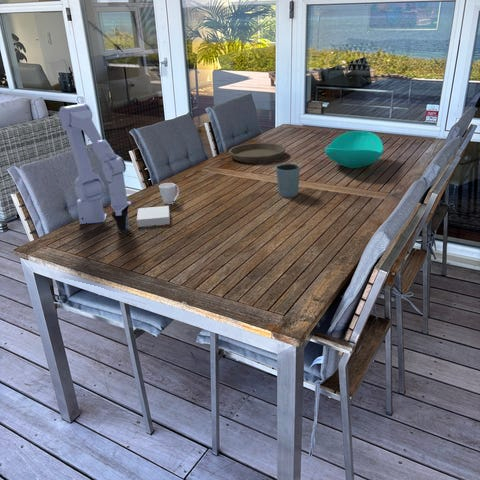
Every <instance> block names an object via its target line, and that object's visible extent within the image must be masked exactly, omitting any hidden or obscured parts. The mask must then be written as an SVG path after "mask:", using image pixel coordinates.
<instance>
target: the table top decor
mask: <svg viewBox="0 0 480 480" xmlns="http://www.w3.org/2000/svg"><path fill="white" fill-rule="evenodd" d="M383 143H384V142H383V141H382V140H381V138H380V137H379V135H377V134H376V133H374V132H370V131H365V130H363V131H362V130H355V131H353V130H352V131H347V132H345V133H342V134H340V135H339V136H337V137H336V138H334V139H333V141H331V142H330V144H329V145H328V146H326V148H325V149H324V152H325V154H326V156H327V157H328V159H330V160H331V161H333V162H334V163H336V164H338V165H341V166H343V167H346V168H349V169H359V168H361V167H362V168H363V167H366V166H369V165H371V164H373V163H374V162H376V161H377V160H379V159H380V157H381V156H382V155H383V153H384V144H383Z"/></svg>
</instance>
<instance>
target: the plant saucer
mask: <svg viewBox="0 0 480 480" xmlns="http://www.w3.org/2000/svg"><path fill="white" fill-rule="evenodd" d="M285 152H286V147H285V146H284V145H282V144H277V143H272V142H254V143H244V144H240V145H237V146H233V147H232V148H230V149H229V150H228V153H229V155H230V156H231V157H232V158H233V159H234V160H235V161H236V160H237V162H239V161H240V163H244V162H245V163H246V164H264V163H271V162H273V161H274V162H275V161H277V160H279V159H281V157H282V156H283V155H284V154H285ZM270 161H271V162H270ZM245 163H244V164H245Z"/></svg>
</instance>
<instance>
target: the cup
mask: <svg viewBox="0 0 480 480" xmlns="http://www.w3.org/2000/svg"><path fill="white" fill-rule="evenodd" d="M158 189H159V191H160V197H161V198H162V201H163V203H164V202H165V203H170V204H172V205H174V204H175V201H176V200H177V199H178V197H179V195H180V188H179V185H177V184H175V183H174V182H164V183H161V184H160V185H158ZM176 189H177V192H176ZM173 201H174V202H173ZM171 202H172V203H171ZM173 203H174V204H173Z"/></svg>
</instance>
